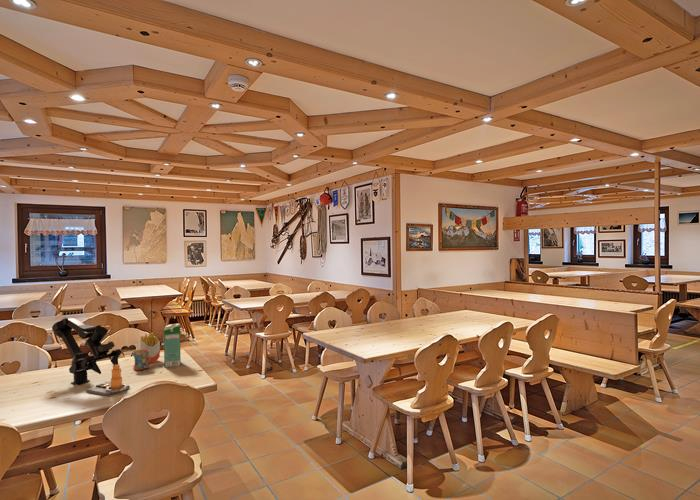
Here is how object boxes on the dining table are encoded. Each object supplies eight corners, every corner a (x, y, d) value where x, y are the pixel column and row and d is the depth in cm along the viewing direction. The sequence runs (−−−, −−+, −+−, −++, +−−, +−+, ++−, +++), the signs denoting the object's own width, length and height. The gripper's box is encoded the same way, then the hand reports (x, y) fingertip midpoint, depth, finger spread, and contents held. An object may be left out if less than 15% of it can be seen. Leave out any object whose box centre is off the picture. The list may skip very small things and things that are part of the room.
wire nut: (110, 388, 210) (109, 365, 210) (121, 386, 213) (120, 363, 213) (111, 391, 206) (111, 367, 206) (122, 389, 209) (122, 365, 209)
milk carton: (164, 363, 258) (163, 324, 257) (179, 361, 262) (179, 322, 261) (164, 367, 250) (163, 326, 249) (180, 365, 254) (180, 325, 253)
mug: (128, 370, 245) (128, 352, 245) (141, 365, 254) (140, 348, 253) (144, 372, 241) (144, 354, 241) (156, 367, 250) (156, 350, 250)
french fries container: (160, 360, 265) (159, 332, 265) (145, 365, 255) (145, 336, 255) (155, 359, 267) (154, 332, 267) (140, 364, 257) (140, 335, 257)
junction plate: (86, 392, 209) (86, 387, 209) (107, 384, 220) (107, 379, 220) (112, 397, 202) (112, 392, 202) (133, 389, 214) (133, 384, 214)
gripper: (84, 341, 206) (98, 366, 201) (119, 333, 222) (133, 357, 218) (75, 354, 209) (88, 379, 205) (110, 346, 226) (123, 369, 221)
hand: (109, 370), depth 212 cm, fingers open, 9 cm apart
